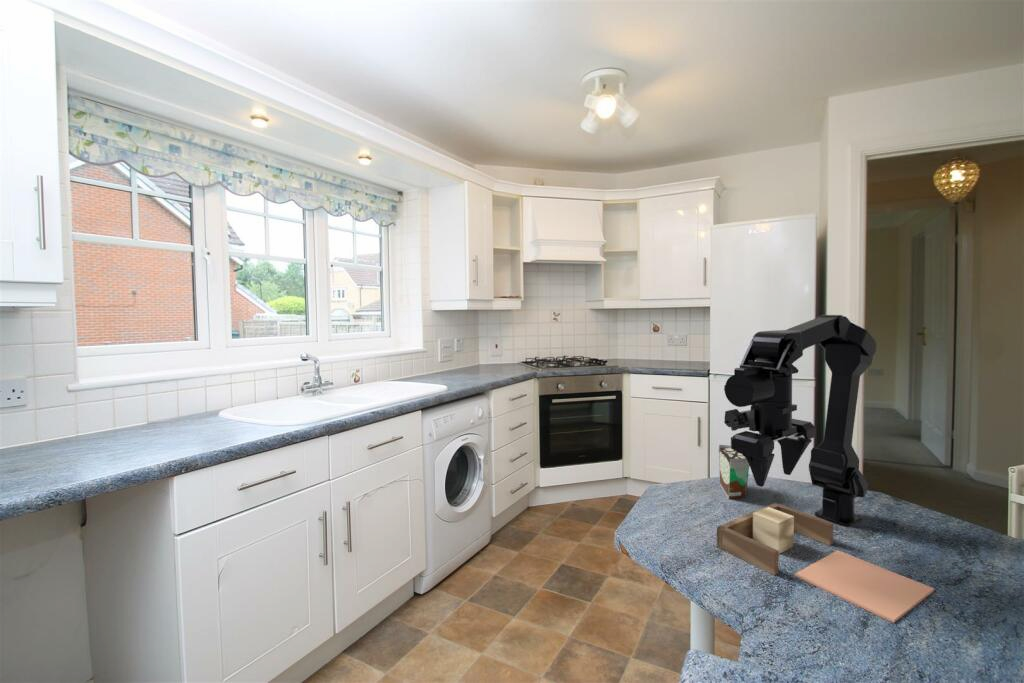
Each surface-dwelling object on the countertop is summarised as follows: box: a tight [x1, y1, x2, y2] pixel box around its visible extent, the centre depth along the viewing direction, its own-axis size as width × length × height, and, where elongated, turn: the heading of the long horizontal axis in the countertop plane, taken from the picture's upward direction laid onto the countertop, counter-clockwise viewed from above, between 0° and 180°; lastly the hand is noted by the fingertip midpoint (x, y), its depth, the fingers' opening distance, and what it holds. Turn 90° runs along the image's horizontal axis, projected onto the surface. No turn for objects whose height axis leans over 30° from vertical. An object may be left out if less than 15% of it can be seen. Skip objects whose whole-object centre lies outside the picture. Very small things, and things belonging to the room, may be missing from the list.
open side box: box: [716, 502, 835, 576], centre depth 90 cm, size 19×11×4 cm, turn 120°
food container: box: [718, 444, 750, 500], centre depth 115 cm, size 12×6×10 cm, turn 168°
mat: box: [794, 549, 935, 624], centre depth 78 cm, size 14×14×1 cm
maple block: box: [752, 506, 795, 555], centre depth 90 cm, size 5×5×6 cm
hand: (773, 480), depth 89 cm, fingers open, 9 cm apart
